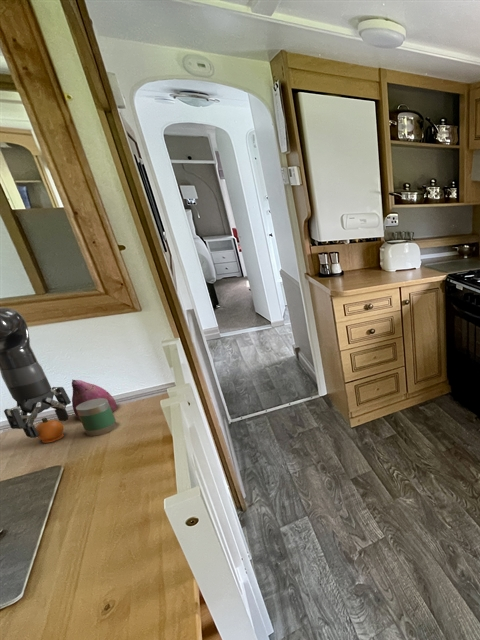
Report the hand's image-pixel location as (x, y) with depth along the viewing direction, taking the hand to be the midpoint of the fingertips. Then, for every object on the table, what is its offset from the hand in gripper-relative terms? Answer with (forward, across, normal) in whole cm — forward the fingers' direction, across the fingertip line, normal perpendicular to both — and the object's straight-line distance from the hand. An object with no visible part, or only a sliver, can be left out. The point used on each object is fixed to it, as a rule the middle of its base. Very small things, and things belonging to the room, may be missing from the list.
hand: (49, 428), depth 111 cm
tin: (+3, -5, +10) cm, 11 cm away
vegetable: (+4, -15, 0) cm, 15 cm away
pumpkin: (+3, 0, 0) cm, 3 cm away
